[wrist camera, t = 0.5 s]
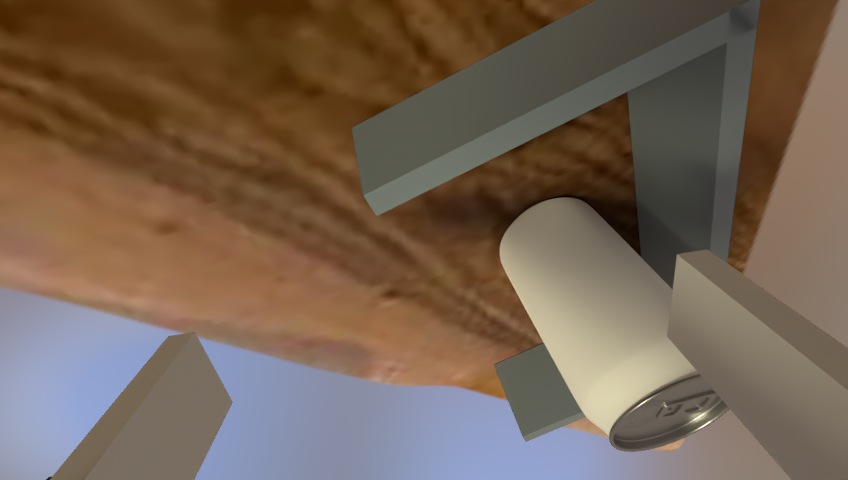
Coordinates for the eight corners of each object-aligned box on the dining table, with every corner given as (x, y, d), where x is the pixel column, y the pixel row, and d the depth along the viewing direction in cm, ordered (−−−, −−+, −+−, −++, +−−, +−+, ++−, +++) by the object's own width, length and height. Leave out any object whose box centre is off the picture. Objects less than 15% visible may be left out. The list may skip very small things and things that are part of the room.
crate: (497, 370, 34) (526, 441, 29) (351, 128, 18) (363, 195, 14) (657, 300, 32) (714, 363, 28) (641, -24, 17) (761, -6, 12)
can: (504, 198, 23) (631, 385, 14) (606, 188, 24) (789, 353, 15) (490, 281, 27) (582, 469, 18) (579, 269, 28) (709, 439, 19)
